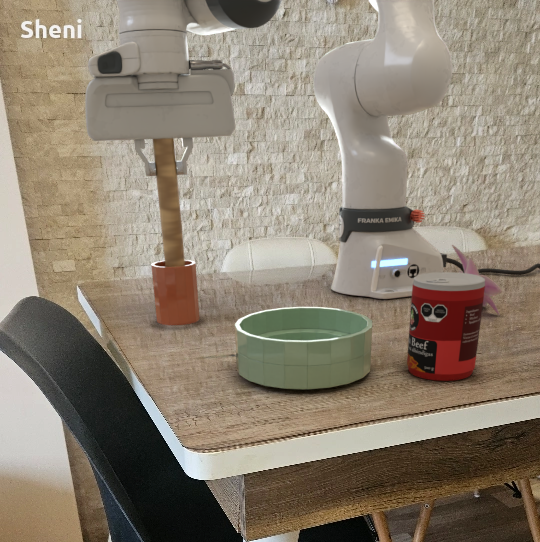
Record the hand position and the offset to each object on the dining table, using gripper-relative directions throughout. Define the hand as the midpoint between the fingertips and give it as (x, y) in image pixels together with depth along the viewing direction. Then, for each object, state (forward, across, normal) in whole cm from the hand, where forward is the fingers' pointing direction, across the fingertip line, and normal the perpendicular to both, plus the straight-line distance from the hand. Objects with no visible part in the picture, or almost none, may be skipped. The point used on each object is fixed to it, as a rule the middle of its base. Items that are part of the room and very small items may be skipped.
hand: (166, 175), depth 94 cm
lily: (+22, -46, +6) cm, 51 cm away
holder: (+21, 0, 0) cm, 21 cm away
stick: (+14, 0, 0) cm, 14 cm away
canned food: (+21, -30, +32) cm, 49 cm away
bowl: (+21, -14, +28) cm, 38 cm away
